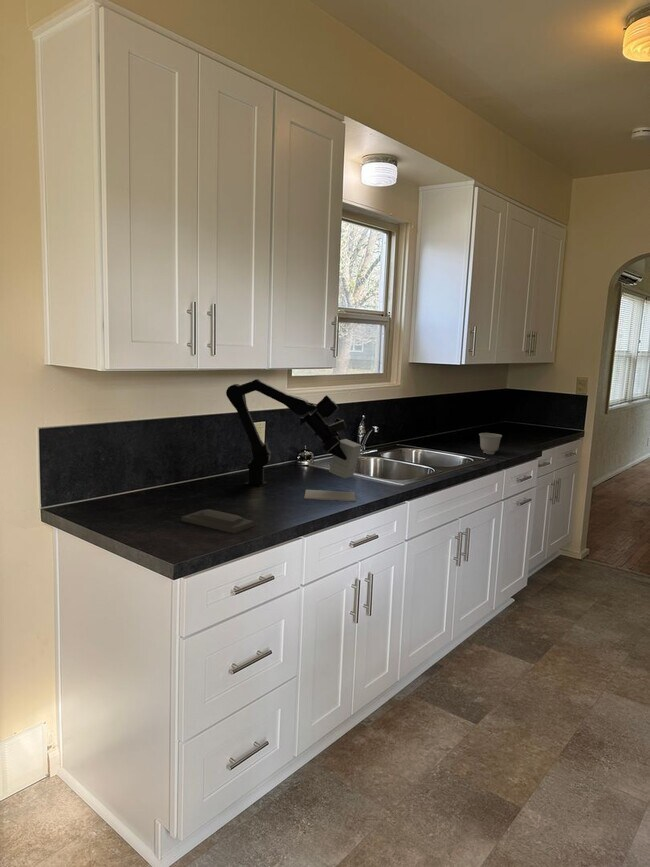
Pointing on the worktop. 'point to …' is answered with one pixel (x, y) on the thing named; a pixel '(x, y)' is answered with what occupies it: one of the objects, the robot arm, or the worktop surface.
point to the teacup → (489, 442)
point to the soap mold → (219, 520)
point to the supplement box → (346, 466)
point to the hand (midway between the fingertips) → (346, 457)
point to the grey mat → (329, 495)
